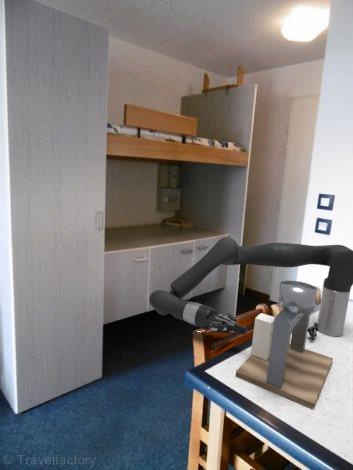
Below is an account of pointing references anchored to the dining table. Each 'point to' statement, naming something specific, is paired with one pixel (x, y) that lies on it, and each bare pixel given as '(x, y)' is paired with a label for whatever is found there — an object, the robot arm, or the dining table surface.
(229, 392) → the dining table surface
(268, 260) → the robot arm
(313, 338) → the valve
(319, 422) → the dining table surface
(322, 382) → the track board
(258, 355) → the plug
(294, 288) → the grey two-legged stand
